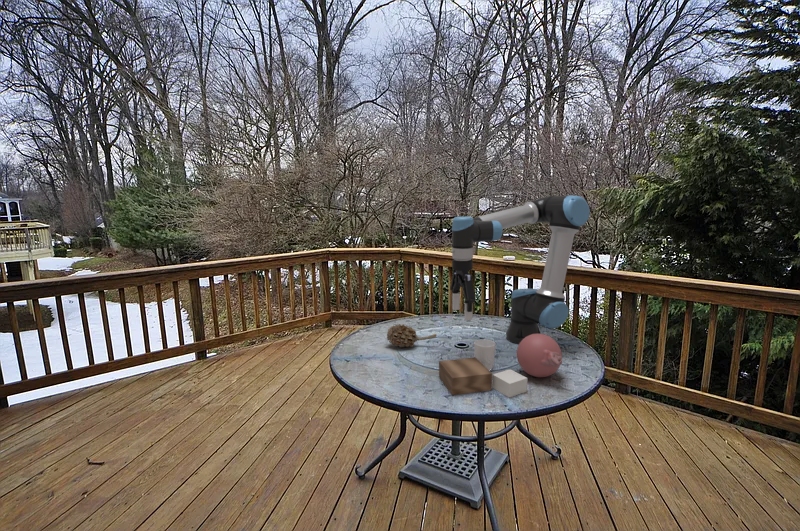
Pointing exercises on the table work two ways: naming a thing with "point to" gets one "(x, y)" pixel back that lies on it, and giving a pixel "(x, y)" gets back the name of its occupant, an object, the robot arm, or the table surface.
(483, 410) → the table surface
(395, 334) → the pine cone
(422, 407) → the table surface
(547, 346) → the balloon
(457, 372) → the walnut block
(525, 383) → the pale block
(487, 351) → the white cup
